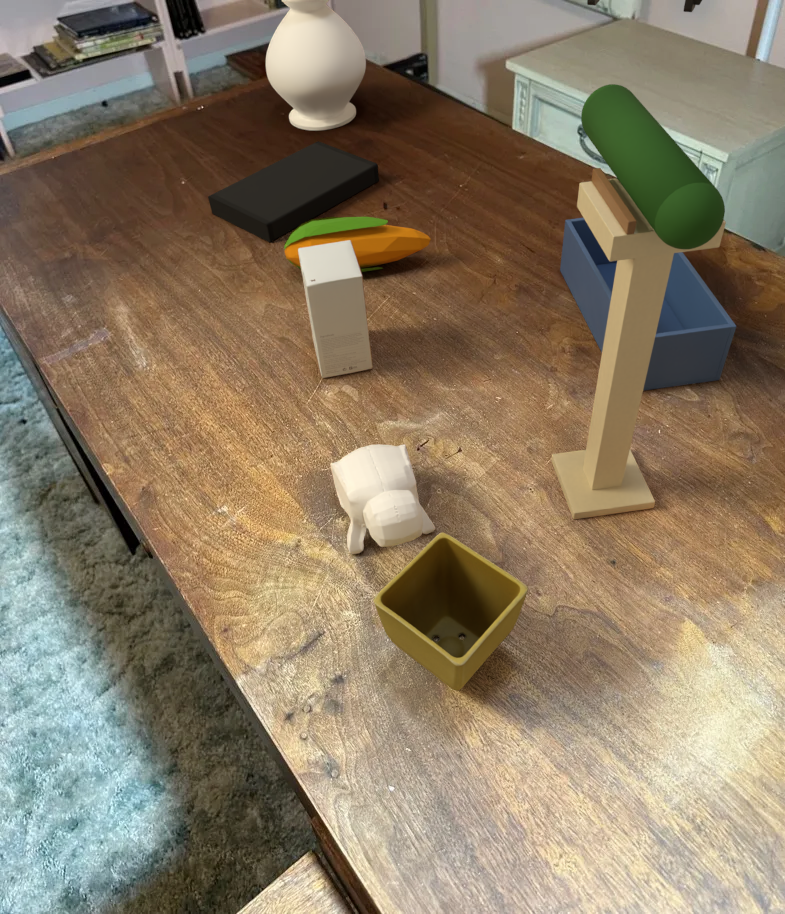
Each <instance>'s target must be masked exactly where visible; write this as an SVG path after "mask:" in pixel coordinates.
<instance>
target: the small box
mask: <svg viewBox="0 0 785 914" xmlns="http://www.w3.org/2000/svg"><path fill="white" fill-rule="evenodd" d="M298 254H299V260H300V266H301V269H300V271H301V277H302V282H303V287H304V289H303V290H304V294H305V300H306V301H305V302H306V306H307V311H308V312H307V313H308V318H309V323H310V329H311V336H312V343H313V347H314V350H315V351H314V352H315V355H316V360H317V364H318V369H319V373H320V376H321V378H322V379H325V378H330V377H331V378H332V377H337V376H341V375H347V374H352V373H357V372H361V371H362V372H363V371H367V370H371V369H373V367H374V366H373V357H372V349H371V341H370V331H369V322H368V314H367V305H366V304H367V303H366V296H365V295H366V294H365V286H364V277H363V276H364V275H363V272H361V269H362V268H360V266H359V263H358V260H357V257H356V254H355V251H354V248H353V245H352V242H351V240H347V241H340V242H334V243H328V244H322V245H315V246H309V247H303V248H299V249H298Z"/></svg>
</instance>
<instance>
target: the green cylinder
mask: <svg viewBox="0 0 785 914" xmlns="http://www.w3.org/2000/svg"><path fill="white" fill-rule="evenodd" d="M580 117H581V121H580V122H581V126H582V129H583V131H584V133H585V135H586V137H587V138H588V139H589V140H590V142H591V143H592V145H593V146H594V148H595V149H596V151H597V152H598V153H599V155H600V157H601V158H602V159H603V160H604V161H605V163H606V164H607V166H608V168H609V169H610V171H611V172H612V173H613V175H614V176H615V178H617V179H618V180H619V181H620V183H621V184H622V186H623V187H624V189H625V190H626V191H627V193H628V194H629V196H630V197H631V198H632V200H633V201H634V203H635V204H636V206H637V207H638V208H639V210H640V211H641V213H642V214H643V215H644V217H645V218H646V220H647V221H648V223H649V224H650V225H651V227H652V228H653V230H654V231H655V232H656V234H657V235H658V237H659V238H660V239H661V240H662V241H663V242H664V243H666V244H667V245H669V246H671V247H674V248H677V249H693V248H696V247H699V246H702V245H703V244H705V243H707V242H708V241H710V240H711V239H712V238H713V237H714V236H715V235H716V233H717V232H718V231H719V229H720V227H721V226H722V223H723V220H725V213H726V205H725V202H724V198H723V196H722V194H721V193H720V191H719V189H717V187H716V186H715V185H714V184H713V183H712V182H711V180H710V179H709V178H708V177H707V176H706V175H705V173H704V172H703V171H702V170H701V169H700V168H699V167H698V165H696V164H695V162H694V161H693V160H692V159H691V158H690V156H689V155H688V154H687V153H686V152H685V151H684V150H683V149H682V148H681V146H680V145H679V144H678V143H677V142H676V141H675V140H674V139H673V138H672V136H671V135H670V134H669V133H668V132H667V130H665V128H664V127H663V126H662V125H661V124H660V122H658V121H657V119H656V118H655V117H654V116H653V114H652V113H651V112H650V111H649V110H648V109H647V108H646V106H645V105H644V104H643V103H642V102H641V101H640V100H639V98H637V97H636V95H635V94H634V93H633V92H632V91H631V90H630V89H628V88H627V87H625V86H624V85H622V84H617V83H615V84H614V83H613V84H612V83H611V84H605V85H603V86H600V87H599V88H597V89H595V90H593V92H591V94H590V95H589V96H588V97H587V99H586V100H585V102H584V103H583V106H582V108H581V115H580Z"/></svg>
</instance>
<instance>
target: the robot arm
mask: <svg viewBox="0 0 785 914" xmlns="http://www.w3.org/2000/svg"><path fill="white" fill-rule="evenodd" d="M702 1H703V0H684V5H683V12H684V13H693V12H694V9H695V8H696V6H700V5H701V3H702ZM599 2H600V0H587V2H586V4H587V6H596V5H597V4H598V3H599Z"/></svg>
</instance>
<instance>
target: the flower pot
mask: <svg viewBox="0 0 785 914" xmlns="http://www.w3.org/2000/svg"><path fill="white" fill-rule="evenodd" d="M528 591H529V587H528V586H527V585H526V584H525V583H524V582H523V581H522V580H520V579H518V578H516V576H514V575H512V574H510V573H509V572H507V571H506V570H505V569H503V568H501V567H499V566H498V565H496V564H495V563H493V562H492V561H491V560H489V559H487V558H486V557H484V556H482V555H481V554H479V553H478V552H476V551H475V550H473V549H472V548H470V547H469V546H467V545H466V544H465V543H463V542H461V541H460V540H459V539H457V538H455V537H453V536H452V535H450V534H448V533H445V532H443V531H442V532H440V533H438V534H437V535H436V536H435V537H433V538H432V540H430V542H428V543H427V544H426V545H425V547H423V549H421V550H420V551H419V552H418V553H417V554H416V555H415V556H414V557H413V559H412V560H411V561H409V563H407V564H406V565H405V566H404V567H403V568H402V570H400V571H399V572H398V573H397V574H396V575H395V576H394V577H393V578H392V579H391V580H389V582H387V583H386V584H385V585H384V586H383V588H381V589H380V591H379V592H378V593H376V595H375V596H374V598H373V603H374V607H375V610H376V612H377V615H378V617H379V621H380V623H381V625H382V628H383V630H384V632H385V634H386V636H387V637H388V638H389V640H390V641H391V642H392V643H393V644H394V646H396V647H397V648H398V649H400V650H401V651H402V652H403V653H404V654H406V655H408V657H410V658H411V659H412V660H414V661H415V662H416V663H418V665H421V666H422V667H423V668H424V669H425V670H427V671H428V672H429V673H431V674H432V675H433V676H434V677H436V678H437V680H439V681H441V682H442V683H443V684H445V685H446V686H447V687H449V688H450V689H451V690H453V691H456V692H457V691H460V690H461V689H463V688H464V687H465V685H466V684H467V683H468V682H469V680H470V679H471V678H473V676H474V675H475V674H476V672H477V671H478V670H479V669H480V667H482V665H483V664H484V663H485V662H486V661H487V660H488V658H489V657H490V656H491V655H492V654H493V653H494V652H495V651H496V649H497V648H498V647H499V646H500V645H501V643H503V641H505V640H506V638H507V637H508V636H509V635H510V634H511V632H513V631H512V630H513V629H514V627H515V626H516V624H517V623H518V619H519V617H520V614H521V611H522V608H523V606H524V604H525V600H526V597H527V594H528ZM461 635H464V637H465V638H464V639H463V638H462V639H461V638H460V636H461ZM435 637H437V638H438V640H437V641H435V640H434V638H435Z"/></svg>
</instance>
